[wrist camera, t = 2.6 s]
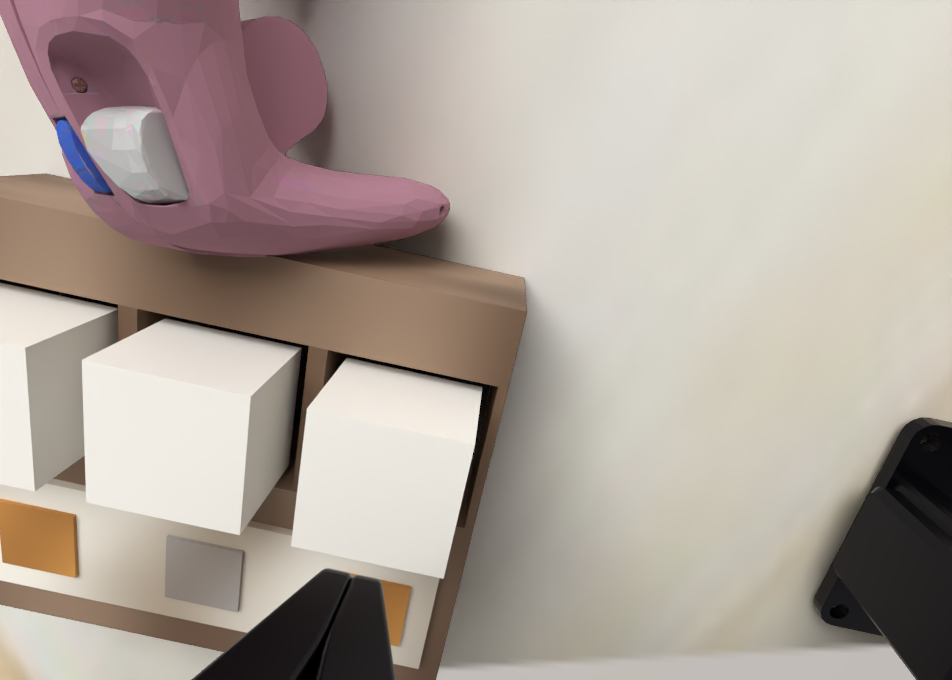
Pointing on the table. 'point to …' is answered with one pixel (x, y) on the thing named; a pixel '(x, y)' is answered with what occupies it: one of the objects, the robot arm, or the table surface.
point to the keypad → (330, 342)
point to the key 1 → (45, 380)
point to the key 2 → (385, 466)
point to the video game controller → (202, 128)
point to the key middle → (188, 423)
